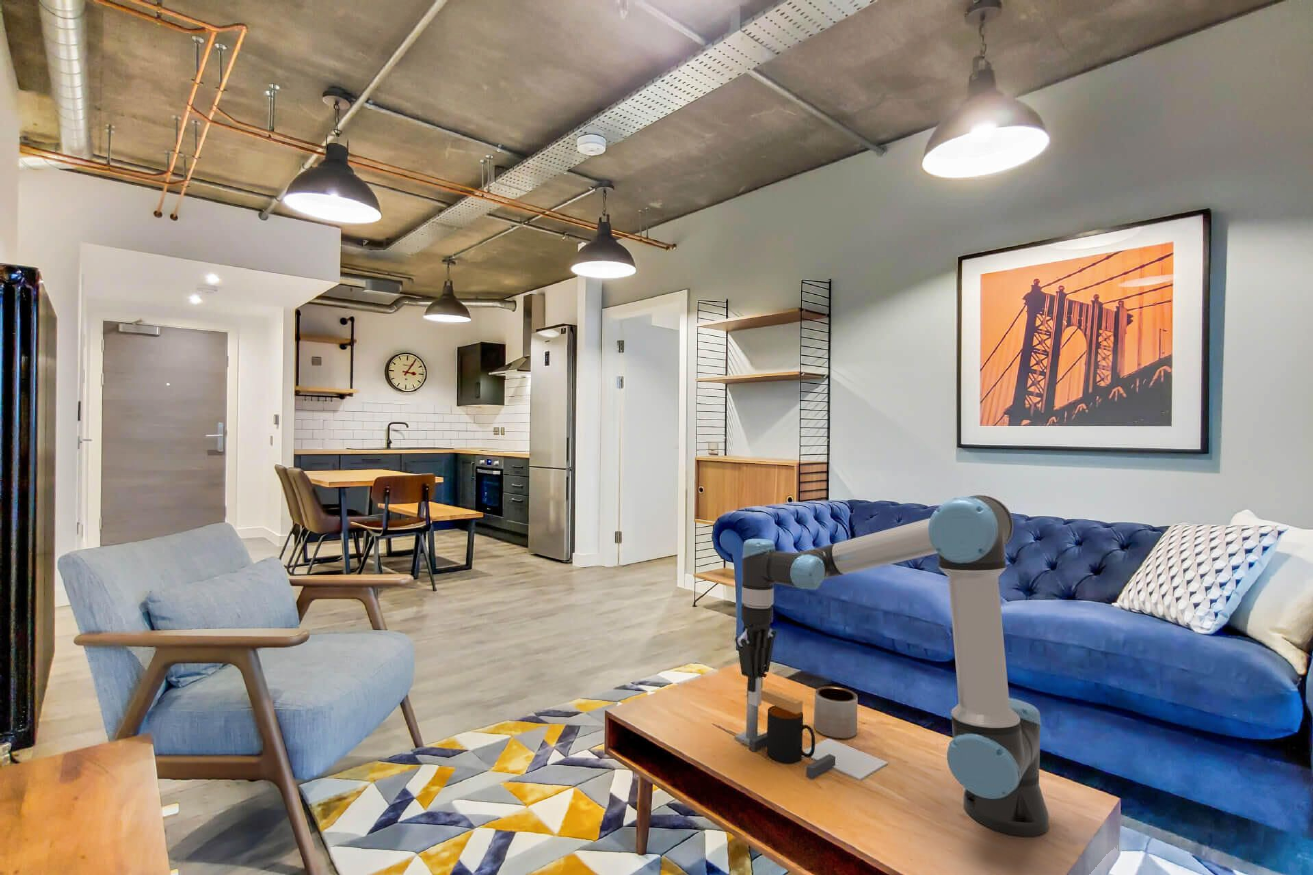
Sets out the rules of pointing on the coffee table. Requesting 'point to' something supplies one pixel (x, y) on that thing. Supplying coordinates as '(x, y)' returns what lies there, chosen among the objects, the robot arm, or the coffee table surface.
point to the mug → (786, 736)
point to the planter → (835, 712)
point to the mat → (847, 759)
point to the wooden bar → (780, 700)
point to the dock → (760, 741)
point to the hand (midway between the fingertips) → (754, 703)
